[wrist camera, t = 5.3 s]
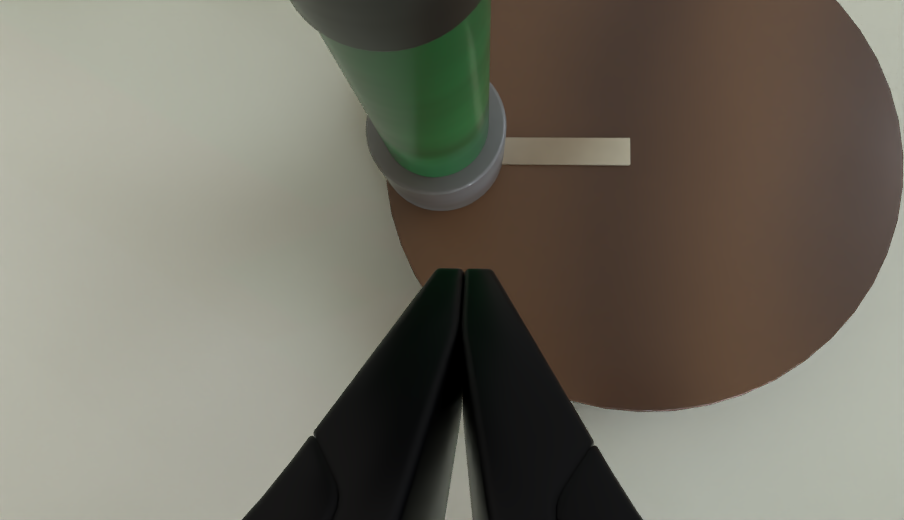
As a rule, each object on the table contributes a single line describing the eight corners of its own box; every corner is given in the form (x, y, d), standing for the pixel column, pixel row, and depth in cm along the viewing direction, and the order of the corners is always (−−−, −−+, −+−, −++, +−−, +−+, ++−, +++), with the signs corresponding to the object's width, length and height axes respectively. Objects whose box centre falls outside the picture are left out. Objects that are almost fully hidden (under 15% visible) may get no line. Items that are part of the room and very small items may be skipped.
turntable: (853, -55, 16) (1764, -968, 4) (877, 411, 14) (2233, 746, 3) (398, -47, 16) (216, -803, 5) (382, 395, 15) (99, 615, 4)
